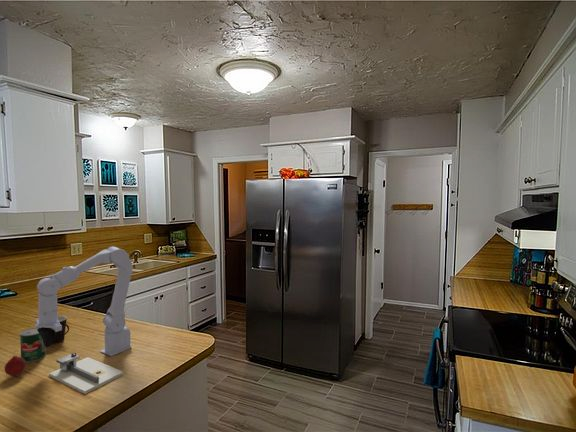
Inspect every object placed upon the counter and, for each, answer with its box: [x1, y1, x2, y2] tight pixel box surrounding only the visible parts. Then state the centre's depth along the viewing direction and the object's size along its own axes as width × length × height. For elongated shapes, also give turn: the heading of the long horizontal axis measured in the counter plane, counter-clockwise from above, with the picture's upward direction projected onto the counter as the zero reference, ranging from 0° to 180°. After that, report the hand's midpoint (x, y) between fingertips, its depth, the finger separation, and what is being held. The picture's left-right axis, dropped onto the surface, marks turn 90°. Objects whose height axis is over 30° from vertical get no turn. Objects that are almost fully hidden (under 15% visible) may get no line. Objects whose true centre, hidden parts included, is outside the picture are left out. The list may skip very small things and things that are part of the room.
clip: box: [55, 352, 81, 372], centre depth 121 cm, size 6×4×5 cm, turn 152°
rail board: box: [48, 356, 124, 395], centre depth 119 cm, size 14×22×3 cm, turn 62°
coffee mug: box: [53, 315, 70, 345], centre depth 145 cm, size 12×9×10 cm
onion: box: [4, 354, 27, 377], centre depth 117 cm, size 6×6×8 cm
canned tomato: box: [19, 327, 46, 363], centre depth 131 cm, size 8×8×11 cm
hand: (48, 346), depth 122 cm, fingers closed
